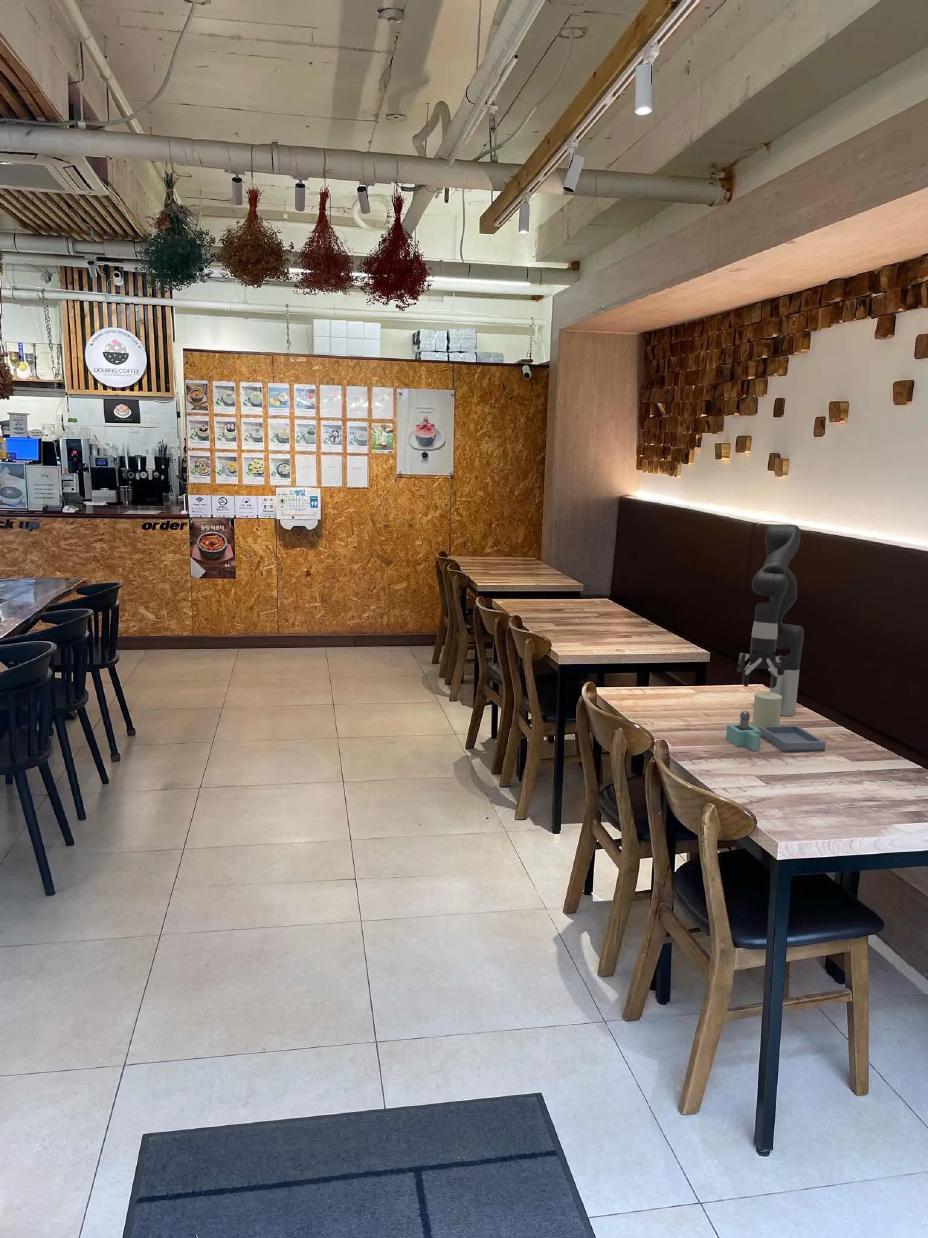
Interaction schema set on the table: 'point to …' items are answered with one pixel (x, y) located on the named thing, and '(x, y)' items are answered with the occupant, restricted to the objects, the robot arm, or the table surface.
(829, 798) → the table surface
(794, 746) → the tray
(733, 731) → the teal block with hole
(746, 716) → the dark grey peg
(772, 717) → the can
